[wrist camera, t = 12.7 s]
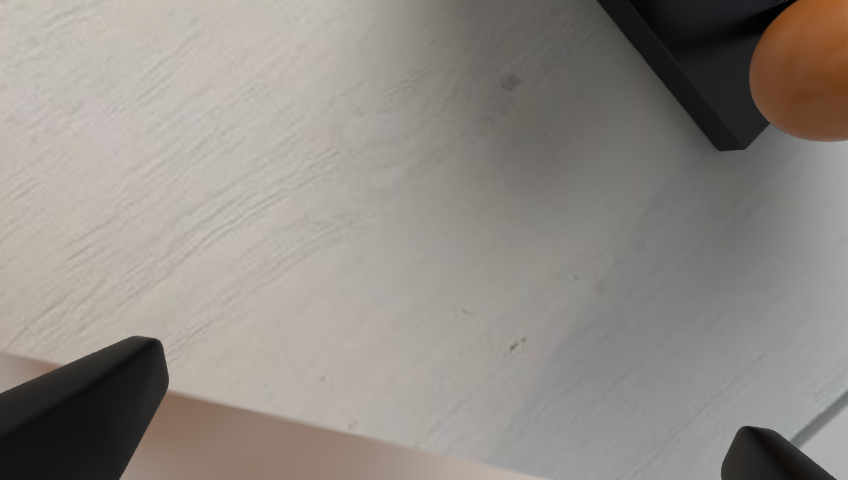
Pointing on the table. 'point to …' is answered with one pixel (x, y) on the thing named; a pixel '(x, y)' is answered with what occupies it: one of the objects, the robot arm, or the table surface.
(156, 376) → the robot arm
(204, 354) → the table surface
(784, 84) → the lever
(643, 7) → the lever bracket
